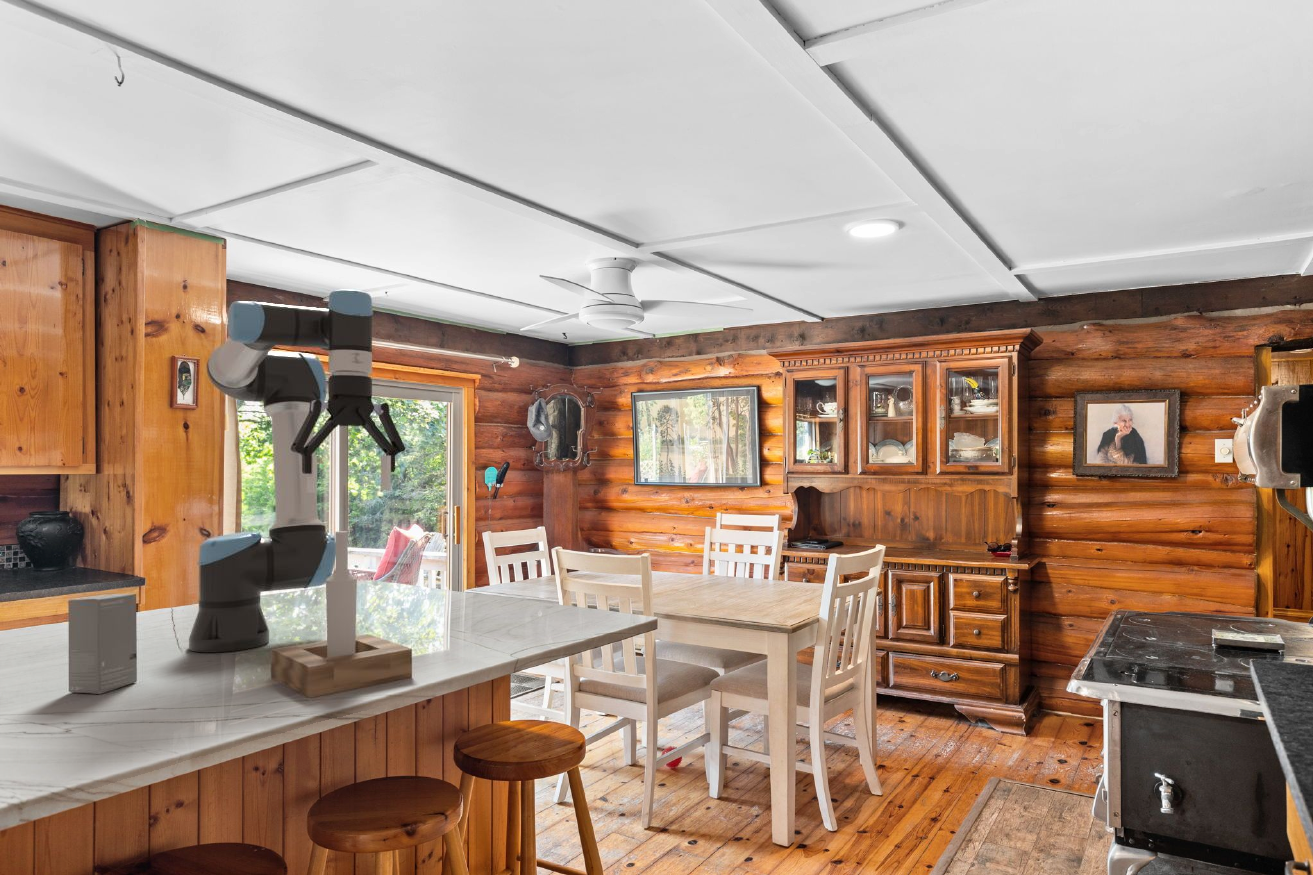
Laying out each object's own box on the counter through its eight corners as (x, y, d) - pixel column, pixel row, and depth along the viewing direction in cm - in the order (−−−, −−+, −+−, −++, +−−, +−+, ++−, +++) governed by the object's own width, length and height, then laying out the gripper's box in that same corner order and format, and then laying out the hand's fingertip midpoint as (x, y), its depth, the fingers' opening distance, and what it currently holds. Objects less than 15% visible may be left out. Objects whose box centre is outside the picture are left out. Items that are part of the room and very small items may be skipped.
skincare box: (99, 695, 138) (100, 599, 138) (63, 693, 139) (64, 598, 140) (140, 681, 146) (141, 591, 147) (106, 680, 148) (106, 590, 148)
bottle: (363, 670, 149) (363, 530, 150) (341, 677, 145) (341, 533, 145) (341, 667, 152) (341, 530, 152) (319, 674, 147) (319, 532, 147)
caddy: (270, 677, 148) (271, 649, 149) (368, 659, 161) (368, 633, 161) (309, 697, 135) (309, 666, 135) (412, 677, 148) (411, 648, 148)
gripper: (286, 369, 141) (285, 494, 141) (423, 378, 158) (422, 489, 157) (272, 372, 147) (271, 492, 146) (405, 380, 163) (405, 488, 163)
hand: (350, 491), depth 152 cm, fingers open, 13 cm apart
